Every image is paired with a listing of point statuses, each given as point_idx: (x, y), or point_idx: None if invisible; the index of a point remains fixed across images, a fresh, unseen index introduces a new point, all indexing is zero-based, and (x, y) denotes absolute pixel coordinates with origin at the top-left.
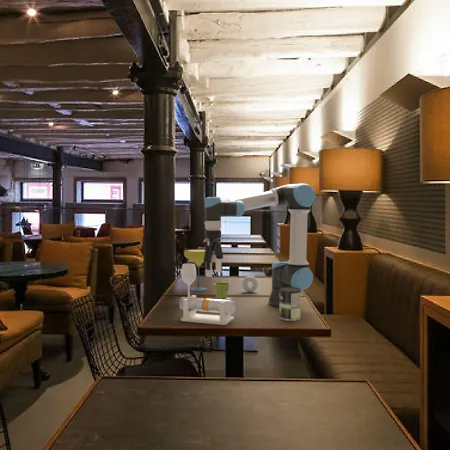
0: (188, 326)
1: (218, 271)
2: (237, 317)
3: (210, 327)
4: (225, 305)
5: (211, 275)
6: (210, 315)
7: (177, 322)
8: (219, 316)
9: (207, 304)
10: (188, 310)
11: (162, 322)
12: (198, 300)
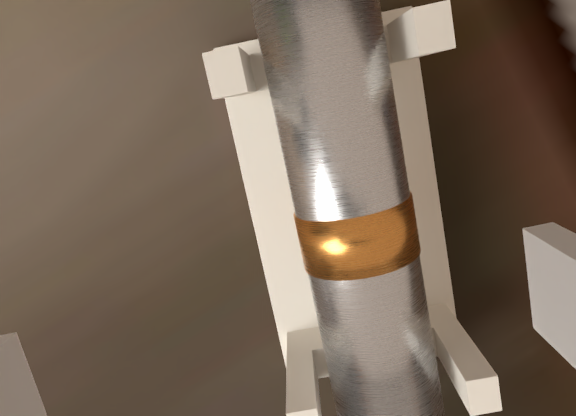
0: (557, 215)
1: (26, 385)
2: (160, 46)
3: (517, 69)
4: (380, 21)
5: (567, 229)
6: (272, 222)
7: (497, 331)
8: (264, 149)
9: (412, 201)
10: (438, 332)
11: (538, 407)
12: (412, 305)
